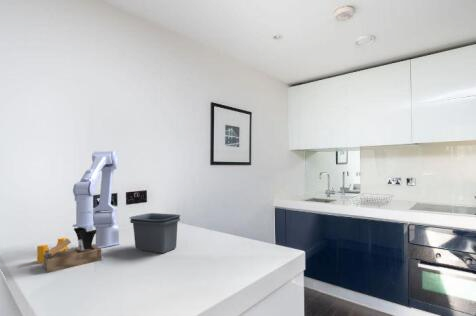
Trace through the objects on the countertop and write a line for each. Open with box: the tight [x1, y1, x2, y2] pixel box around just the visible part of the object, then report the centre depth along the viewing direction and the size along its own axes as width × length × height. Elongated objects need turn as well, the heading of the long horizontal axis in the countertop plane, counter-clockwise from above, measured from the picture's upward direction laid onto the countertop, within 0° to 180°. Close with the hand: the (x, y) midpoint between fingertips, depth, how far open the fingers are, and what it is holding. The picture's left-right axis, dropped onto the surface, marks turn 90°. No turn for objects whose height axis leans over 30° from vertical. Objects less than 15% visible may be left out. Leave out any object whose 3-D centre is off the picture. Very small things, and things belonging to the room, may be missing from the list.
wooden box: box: [43, 244, 102, 273], centre depth 100 cm, size 17×10×6 cm, turn 133°
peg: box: [77, 239, 90, 253], centre depth 102 cm, size 4×4×8 cm
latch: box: [45, 238, 72, 257], centre depth 97 cm, size 8×4×1 cm
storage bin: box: [129, 212, 182, 254], centre depth 115 cm, size 21×16×14 cm
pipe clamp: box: [36, 237, 68, 264], centre depth 107 cm, size 12×4×6 cm, turn 174°
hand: (84, 247), depth 102 cm, fingers open, 7 cm apart
